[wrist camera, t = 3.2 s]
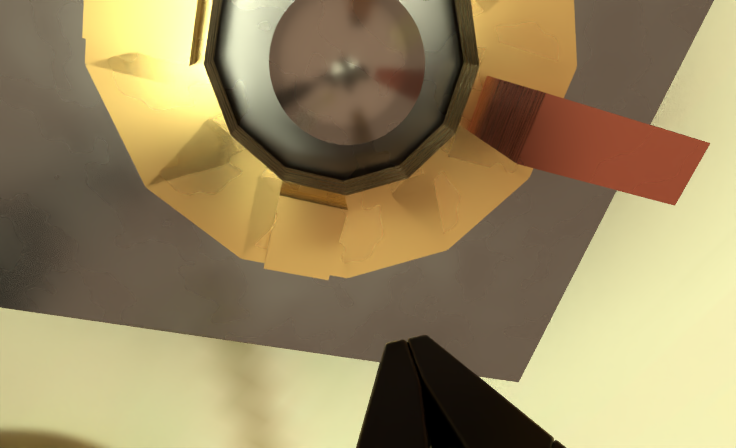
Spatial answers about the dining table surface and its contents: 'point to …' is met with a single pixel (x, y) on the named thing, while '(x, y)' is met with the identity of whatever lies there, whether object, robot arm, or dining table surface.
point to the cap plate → (313, 155)
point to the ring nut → (382, 188)
